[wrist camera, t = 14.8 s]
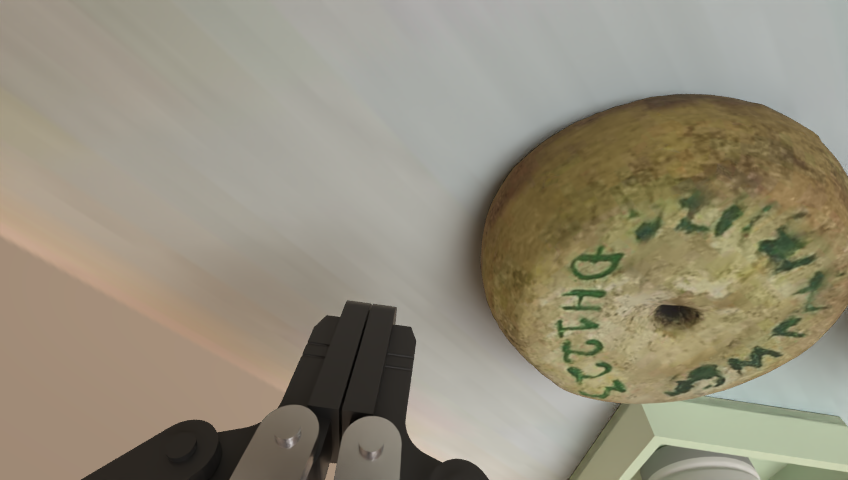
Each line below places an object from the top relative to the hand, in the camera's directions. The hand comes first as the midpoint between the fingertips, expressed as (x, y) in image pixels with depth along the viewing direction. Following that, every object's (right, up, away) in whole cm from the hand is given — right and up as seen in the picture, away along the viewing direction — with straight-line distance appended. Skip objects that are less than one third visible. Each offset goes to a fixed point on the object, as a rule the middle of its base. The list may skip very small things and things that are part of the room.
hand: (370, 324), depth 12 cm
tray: (+19, -12, +14) cm, 26 cm away
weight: (+11, +3, +6) cm, 13 cm away
